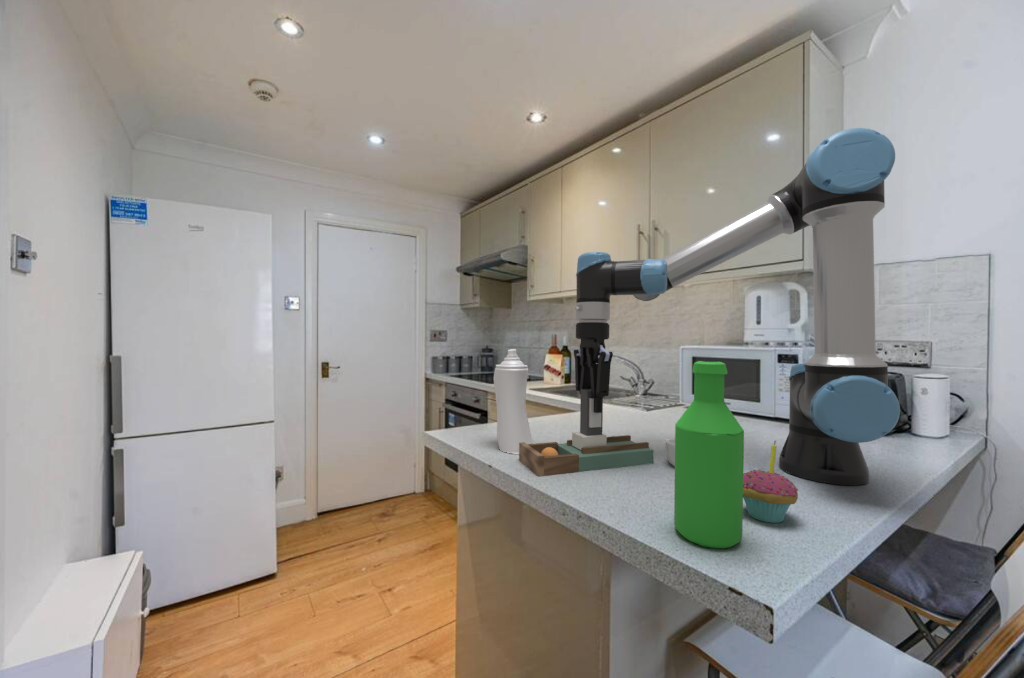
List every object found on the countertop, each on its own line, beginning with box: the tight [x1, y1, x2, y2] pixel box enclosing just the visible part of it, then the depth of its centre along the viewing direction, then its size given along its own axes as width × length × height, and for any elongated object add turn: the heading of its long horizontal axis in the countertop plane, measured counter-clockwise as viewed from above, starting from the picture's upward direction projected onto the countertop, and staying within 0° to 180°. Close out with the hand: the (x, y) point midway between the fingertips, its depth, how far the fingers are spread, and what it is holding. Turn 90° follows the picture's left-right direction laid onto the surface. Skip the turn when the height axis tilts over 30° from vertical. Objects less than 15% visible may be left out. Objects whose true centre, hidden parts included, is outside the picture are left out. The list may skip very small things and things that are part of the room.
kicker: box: [571, 389, 608, 450], centre depth 93 cm, size 5×6×13 cm
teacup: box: [665, 437, 675, 468], centre depth 90 cm, size 10×8×5 cm
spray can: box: [493, 348, 534, 455], centre depth 104 cm, size 12×11×25 cm
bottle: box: [673, 360, 745, 549], centre depth 59 cm, size 9×9×25 cm
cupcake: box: [743, 440, 799, 524], centre depth 65 cm, size 9×8×12 cm
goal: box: [518, 441, 580, 477], centre depth 90 cm, size 11×9×4 cm
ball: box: [541, 447, 558, 457], centre depth 90 cm, size 4×4×4 cm
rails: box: [566, 434, 650, 454], centre depth 95 cm, size 8×17×1 cm, turn 110°
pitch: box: [558, 440, 654, 472], centre depth 94 cm, size 11×19×3 cm, turn 110°
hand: (590, 424), depth 93 cm, fingers closed on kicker, 3 cm apart
